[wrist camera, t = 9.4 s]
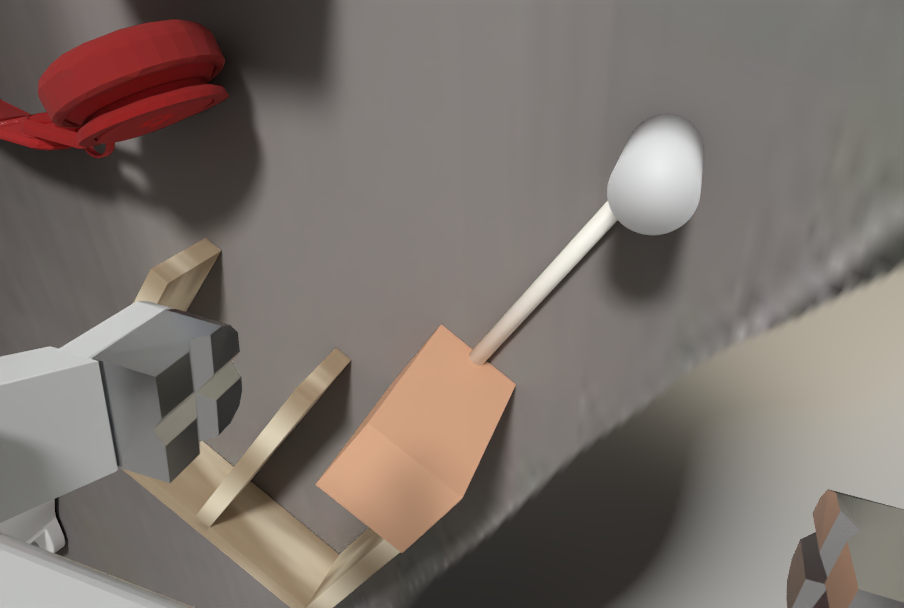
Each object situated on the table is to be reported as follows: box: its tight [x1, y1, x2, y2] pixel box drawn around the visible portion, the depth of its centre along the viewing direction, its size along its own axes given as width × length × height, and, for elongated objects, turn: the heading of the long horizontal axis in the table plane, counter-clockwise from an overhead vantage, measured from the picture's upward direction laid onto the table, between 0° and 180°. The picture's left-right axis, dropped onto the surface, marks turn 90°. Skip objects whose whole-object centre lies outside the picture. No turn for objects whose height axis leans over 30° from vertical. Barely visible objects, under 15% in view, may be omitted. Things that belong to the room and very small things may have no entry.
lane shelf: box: [123, 238, 442, 608], centre depth 37 cm, size 14×18×4 cm
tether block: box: [316, 114, 704, 553], centre depth 27 cm, size 18×4×8 cm, turn 145°
